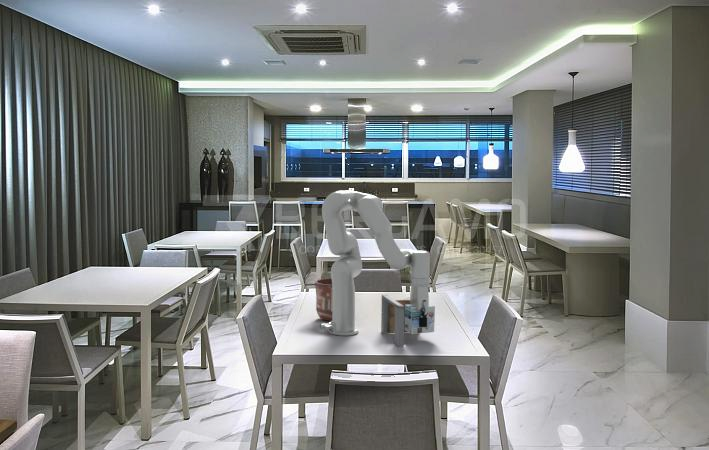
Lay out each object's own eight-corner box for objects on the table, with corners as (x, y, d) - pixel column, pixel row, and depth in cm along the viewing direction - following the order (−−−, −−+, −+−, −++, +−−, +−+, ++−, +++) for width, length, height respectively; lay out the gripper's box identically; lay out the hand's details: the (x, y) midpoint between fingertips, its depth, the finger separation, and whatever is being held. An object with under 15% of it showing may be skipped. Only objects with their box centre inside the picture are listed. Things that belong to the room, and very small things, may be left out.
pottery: (329, 313, 294) (328, 276, 293) (360, 318, 285) (360, 280, 284) (307, 321, 279) (307, 282, 277) (340, 326, 270) (340, 286, 268)
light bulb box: (411, 334, 242) (411, 307, 242) (403, 330, 249) (404, 304, 248) (435, 332, 246) (435, 305, 246) (427, 328, 253) (427, 302, 252)
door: (387, 333, 257) (388, 300, 256) (387, 332, 258) (387, 300, 257) (419, 332, 259) (420, 299, 258) (418, 331, 260) (419, 299, 259)
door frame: (398, 346, 238) (399, 306, 237) (381, 331, 261) (381, 294, 260) (403, 346, 239) (404, 306, 238) (385, 331, 262) (386, 294, 260)
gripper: (404, 278, 253) (403, 320, 255) (418, 285, 237) (418, 330, 238) (421, 277, 255) (420, 319, 257) (436, 284, 238) (436, 329, 240)
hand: (419, 324), depth 247 cm, fingers closed on light bulb box, 7 cm apart
